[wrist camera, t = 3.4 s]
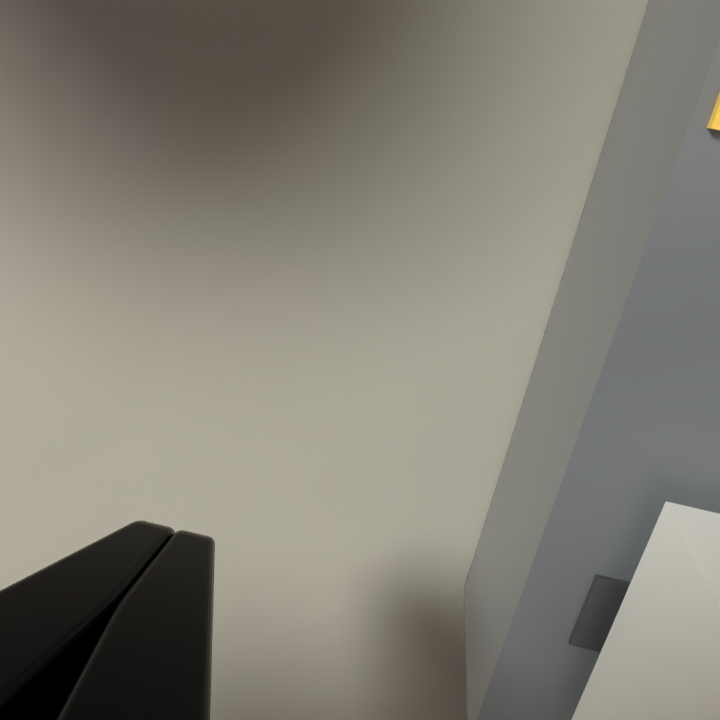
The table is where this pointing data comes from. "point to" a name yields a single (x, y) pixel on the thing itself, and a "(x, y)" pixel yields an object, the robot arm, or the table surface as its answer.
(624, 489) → the console
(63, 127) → the table surface
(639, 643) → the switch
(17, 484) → the table surface
